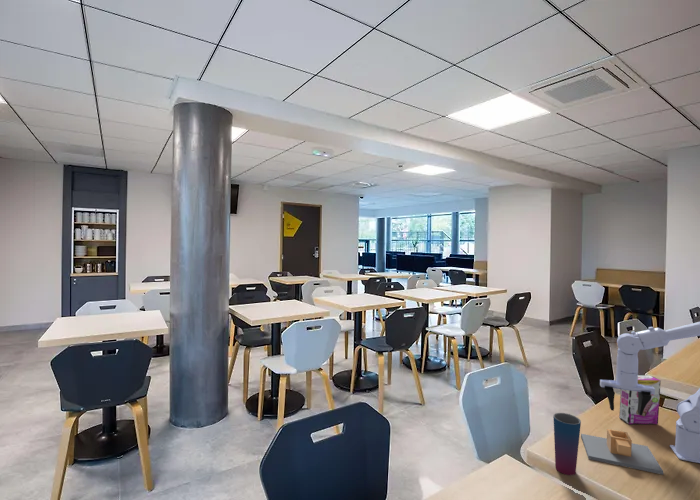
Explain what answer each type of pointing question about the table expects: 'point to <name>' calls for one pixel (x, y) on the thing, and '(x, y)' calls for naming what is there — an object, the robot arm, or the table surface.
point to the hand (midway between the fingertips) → (625, 411)
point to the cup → (566, 442)
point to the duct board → (638, 459)
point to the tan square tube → (619, 442)
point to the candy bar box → (631, 403)
